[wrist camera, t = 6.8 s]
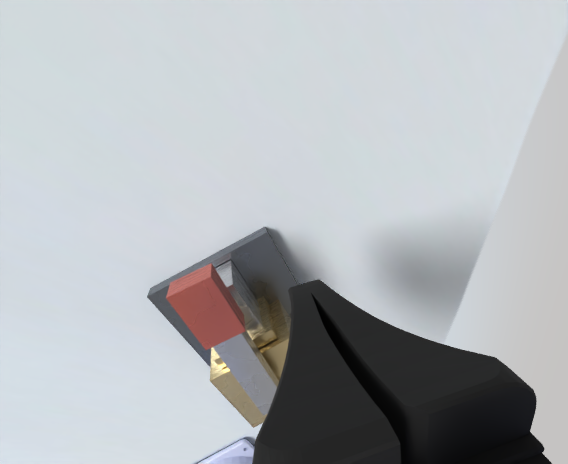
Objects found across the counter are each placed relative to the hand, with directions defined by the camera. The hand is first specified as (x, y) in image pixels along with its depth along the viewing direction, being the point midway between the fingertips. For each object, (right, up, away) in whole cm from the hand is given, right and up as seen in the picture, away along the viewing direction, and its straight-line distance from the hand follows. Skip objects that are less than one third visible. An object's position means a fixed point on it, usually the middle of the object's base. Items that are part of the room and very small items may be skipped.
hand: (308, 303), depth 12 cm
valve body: (-3, -5, +11) cm, 13 cm away
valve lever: (-4, -3, +5) cm, 7 cm away
